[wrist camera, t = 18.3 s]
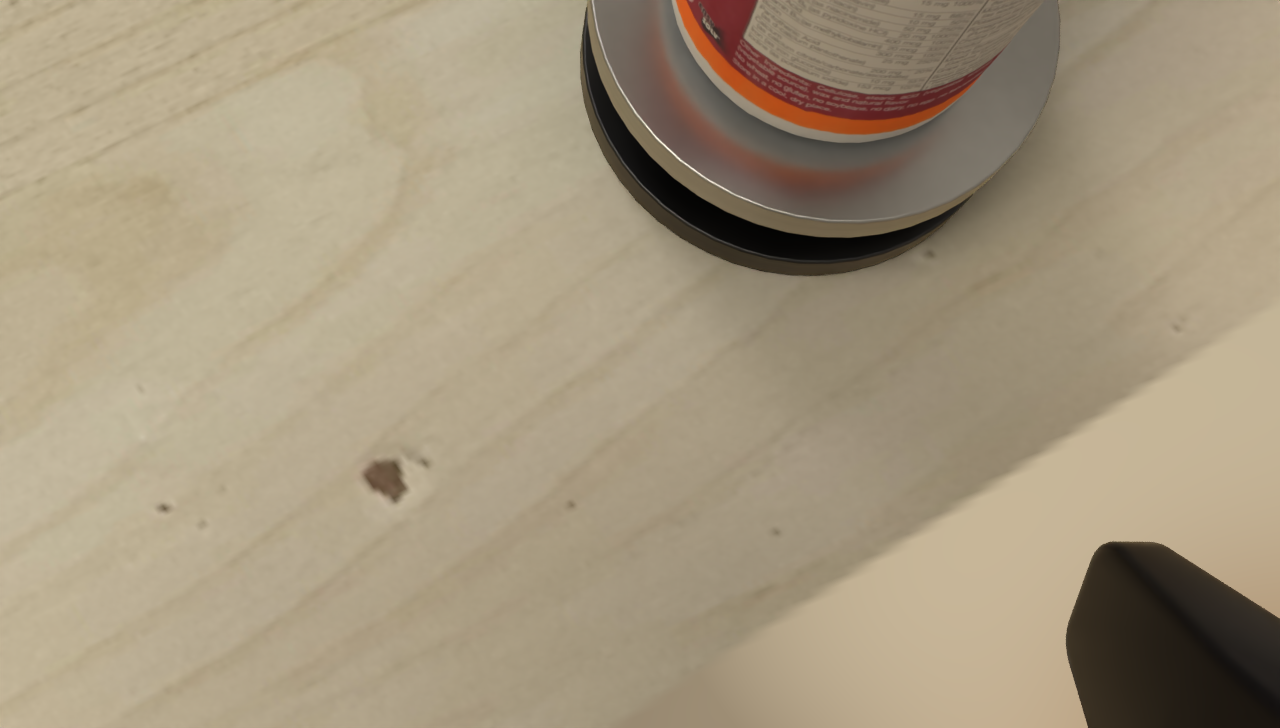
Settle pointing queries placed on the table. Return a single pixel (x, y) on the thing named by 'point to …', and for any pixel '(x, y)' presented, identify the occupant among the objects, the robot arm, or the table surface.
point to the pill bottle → (847, 58)
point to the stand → (794, 149)
